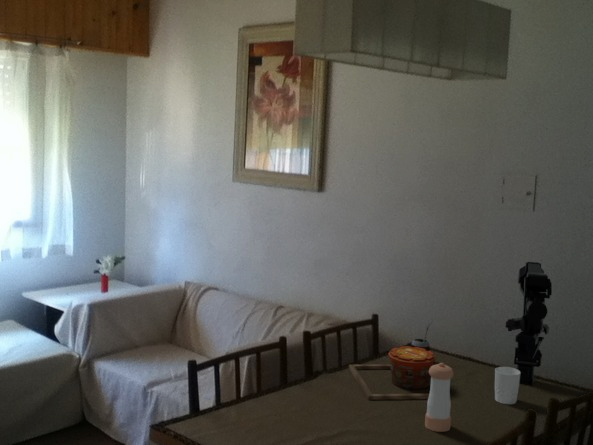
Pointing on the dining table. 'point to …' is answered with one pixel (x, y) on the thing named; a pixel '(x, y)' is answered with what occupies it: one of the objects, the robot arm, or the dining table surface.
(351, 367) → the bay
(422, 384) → the food container
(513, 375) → the white cup
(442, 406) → the pepper shaker
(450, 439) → the dining table surface
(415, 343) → the mate gourd
